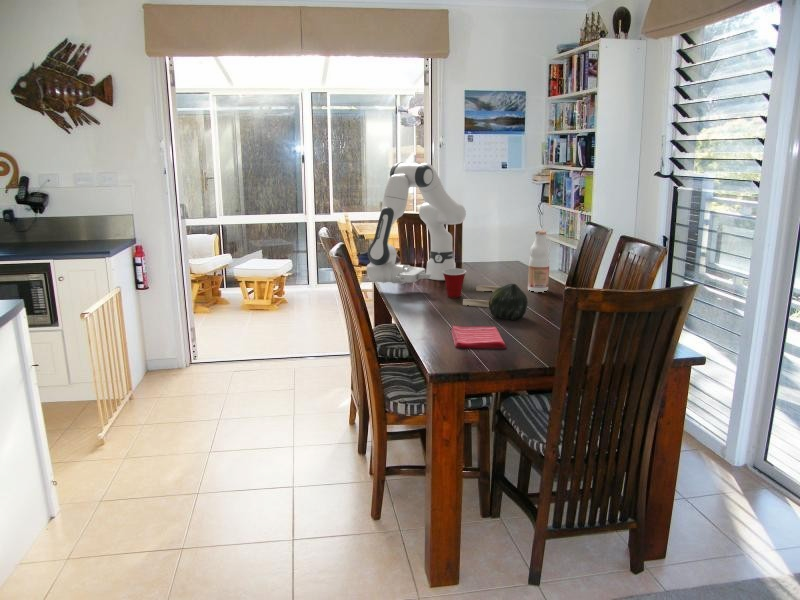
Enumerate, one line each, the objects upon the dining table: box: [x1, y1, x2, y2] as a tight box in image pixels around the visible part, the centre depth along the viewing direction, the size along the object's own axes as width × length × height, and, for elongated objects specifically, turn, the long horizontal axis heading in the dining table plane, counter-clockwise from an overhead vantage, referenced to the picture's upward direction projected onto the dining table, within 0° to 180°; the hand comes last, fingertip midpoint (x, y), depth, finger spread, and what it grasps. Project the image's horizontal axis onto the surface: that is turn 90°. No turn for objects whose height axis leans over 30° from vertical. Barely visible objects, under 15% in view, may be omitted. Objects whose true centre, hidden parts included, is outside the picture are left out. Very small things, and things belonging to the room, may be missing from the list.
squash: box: [488, 283, 529, 321], centre depth 251 cm, size 14×15×15 cm
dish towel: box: [451, 325, 507, 349], centre depth 225 cm, size 17×24×3 cm
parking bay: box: [462, 284, 501, 308], centre depth 285 cm, size 31×18×2 cm, turn 162°
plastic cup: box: [442, 267, 467, 298], centre depth 289 cm, size 11×11×12 cm
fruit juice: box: [527, 230, 551, 293], centre depth 299 cm, size 9×9×28 cm
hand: (429, 276), depth 291 cm, fingers closed
